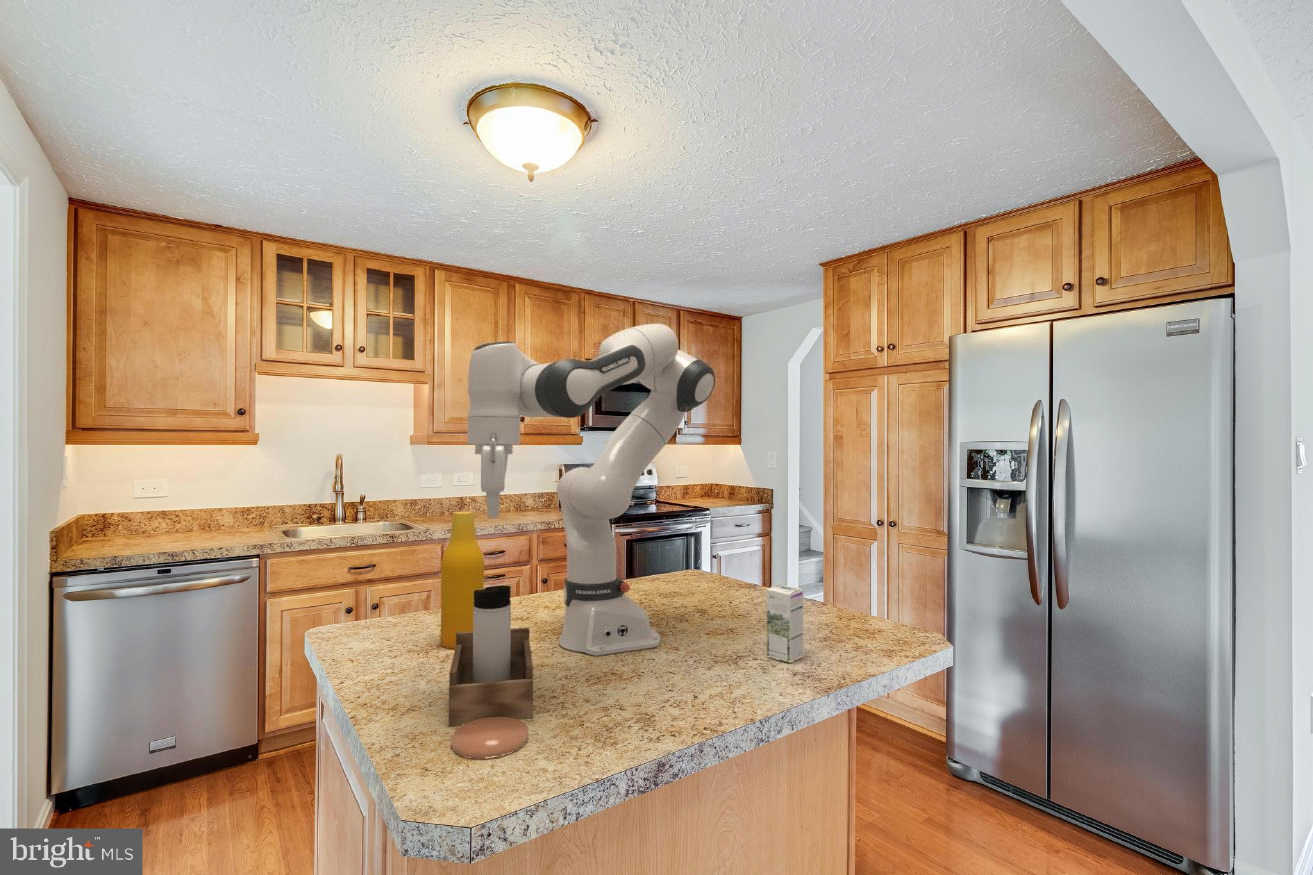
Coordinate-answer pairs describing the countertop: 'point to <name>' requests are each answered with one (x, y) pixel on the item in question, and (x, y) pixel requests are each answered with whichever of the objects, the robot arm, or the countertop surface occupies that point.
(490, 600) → the travel mug
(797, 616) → the syrup box
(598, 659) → the countertop surface
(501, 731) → the saucer
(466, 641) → the frame
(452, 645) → the beer bottle
